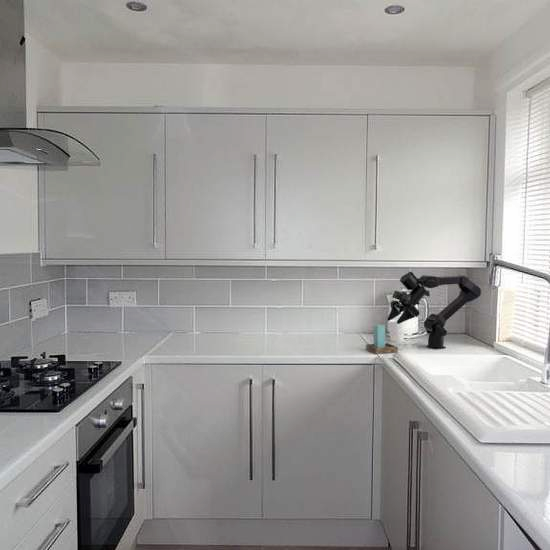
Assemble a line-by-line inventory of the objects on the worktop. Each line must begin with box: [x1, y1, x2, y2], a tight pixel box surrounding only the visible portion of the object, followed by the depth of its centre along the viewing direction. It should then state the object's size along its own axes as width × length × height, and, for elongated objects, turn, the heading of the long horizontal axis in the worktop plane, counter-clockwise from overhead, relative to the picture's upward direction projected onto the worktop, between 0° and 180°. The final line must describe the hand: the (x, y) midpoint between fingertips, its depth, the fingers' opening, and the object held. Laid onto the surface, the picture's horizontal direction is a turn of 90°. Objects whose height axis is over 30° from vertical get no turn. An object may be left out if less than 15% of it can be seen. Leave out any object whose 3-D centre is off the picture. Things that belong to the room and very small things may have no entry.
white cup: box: [388, 319, 406, 343], centre depth 262 cm, size 8×8×10 cm
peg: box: [373, 323, 386, 348], centre depth 237 cm, size 4×4×12 cm
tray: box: [365, 342, 399, 355], centre depth 237 cm, size 11×10×2 cm
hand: (392, 321), depth 238 cm, fingers open, 9 cm apart
